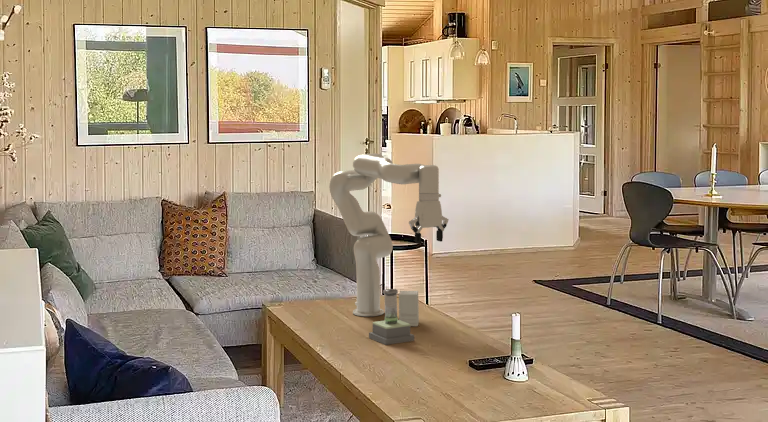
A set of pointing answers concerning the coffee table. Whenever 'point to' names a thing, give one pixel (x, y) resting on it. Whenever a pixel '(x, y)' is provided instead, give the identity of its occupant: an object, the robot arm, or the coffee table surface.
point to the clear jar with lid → (390, 306)
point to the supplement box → (409, 307)
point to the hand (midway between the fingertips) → (428, 242)
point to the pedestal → (391, 332)
